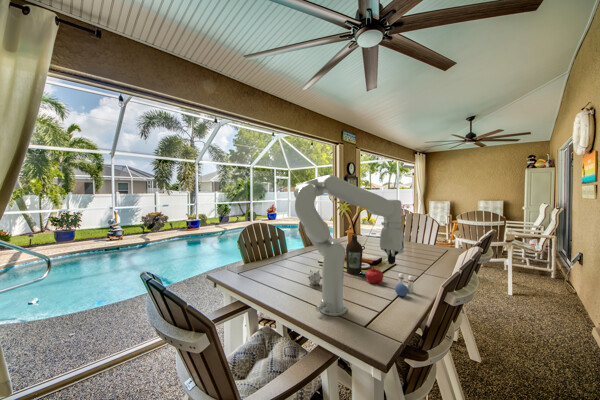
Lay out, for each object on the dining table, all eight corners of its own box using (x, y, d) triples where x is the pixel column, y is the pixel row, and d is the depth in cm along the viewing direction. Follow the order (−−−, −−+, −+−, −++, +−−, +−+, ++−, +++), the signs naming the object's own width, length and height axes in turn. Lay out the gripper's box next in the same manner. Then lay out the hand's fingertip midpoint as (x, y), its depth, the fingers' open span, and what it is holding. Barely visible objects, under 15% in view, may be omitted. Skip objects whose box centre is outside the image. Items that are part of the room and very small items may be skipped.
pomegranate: (384, 286, 134) (384, 270, 134) (365, 284, 136) (366, 268, 136) (381, 279, 144) (382, 264, 143) (364, 277, 146) (365, 263, 145)
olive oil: (345, 269, 162) (346, 232, 161) (361, 270, 160) (362, 233, 158) (345, 274, 151) (346, 235, 150) (362, 275, 149) (363, 236, 148)
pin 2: (412, 293, 124) (412, 277, 124) (407, 292, 126) (407, 276, 125) (413, 292, 126) (414, 276, 125) (408, 290, 128) (409, 275, 127)
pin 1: (402, 290, 128) (402, 275, 127) (397, 289, 129) (398, 274, 129) (404, 289, 129) (404, 274, 129) (399, 288, 131) (399, 272, 131)
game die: (316, 292, 134) (316, 282, 128) (304, 284, 138) (304, 274, 132) (324, 280, 139) (325, 271, 133) (313, 273, 143) (313, 263, 137)
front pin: (405, 288, 125) (411, 283, 131) (400, 287, 126) (406, 282, 132) (405, 293, 125) (411, 288, 131) (400, 292, 126) (406, 287, 132)
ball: (410, 293, 122) (404, 300, 119) (398, 288, 127) (393, 295, 123) (409, 284, 120) (404, 292, 117) (397, 279, 124) (392, 287, 121)
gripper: (373, 224, 115) (373, 261, 116) (405, 228, 105) (404, 269, 106) (381, 223, 121) (380, 258, 122) (411, 226, 110) (410, 265, 111)
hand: (391, 263), depth 114 cm, fingers closed
